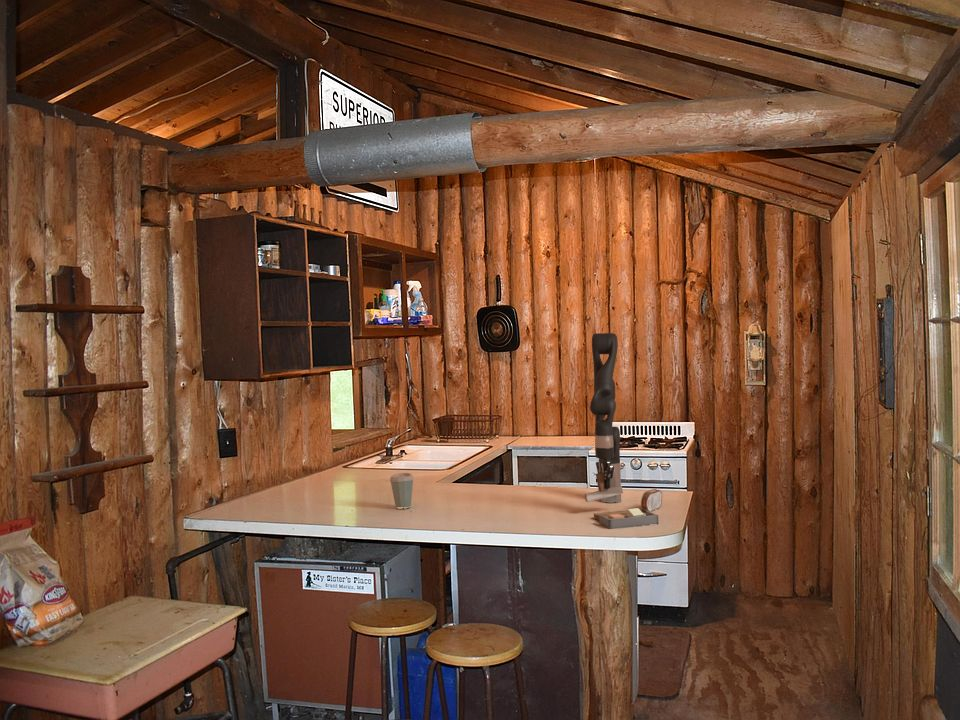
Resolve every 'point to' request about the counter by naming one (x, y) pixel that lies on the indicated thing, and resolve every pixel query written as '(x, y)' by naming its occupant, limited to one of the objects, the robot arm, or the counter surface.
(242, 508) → the counter surface
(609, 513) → the walnut board
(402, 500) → the disposable coffee cup
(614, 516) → the salmon pink cube
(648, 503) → the tin
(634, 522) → the box
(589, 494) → the cube on grey rod
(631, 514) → the cream block
